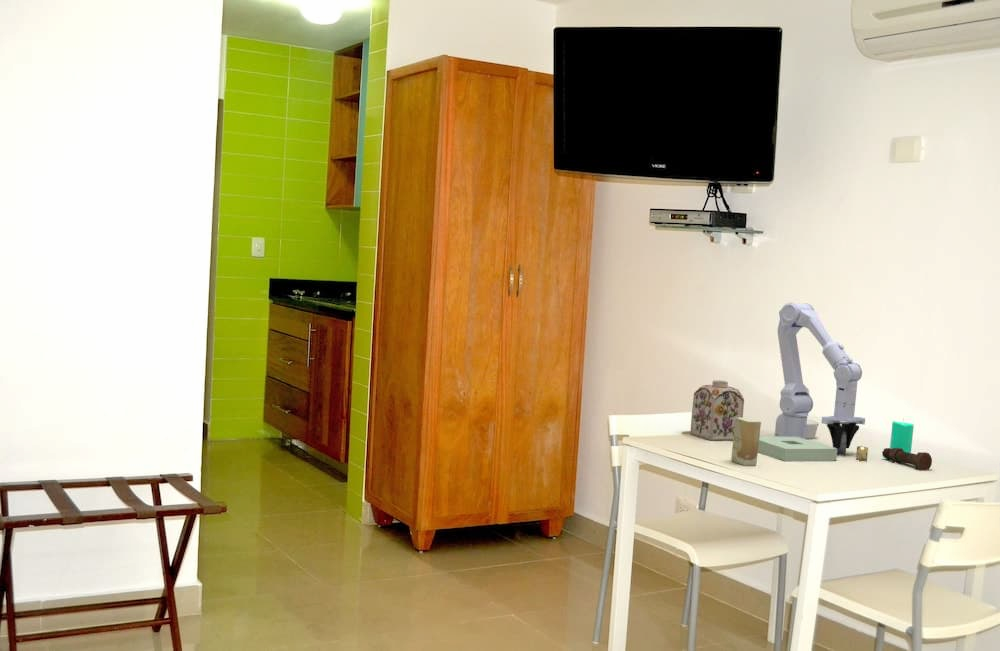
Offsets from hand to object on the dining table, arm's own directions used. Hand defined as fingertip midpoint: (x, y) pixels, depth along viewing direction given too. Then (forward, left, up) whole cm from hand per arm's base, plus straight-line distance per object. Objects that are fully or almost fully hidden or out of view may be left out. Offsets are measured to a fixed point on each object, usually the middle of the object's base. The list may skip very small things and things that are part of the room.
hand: (840, 447), depth 287 cm
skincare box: (+11, -42, -2) cm, 43 cm away
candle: (+5, +18, -2) cm, 19 cm away
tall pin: (0, 0, -2) cm, 2 cm away
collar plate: (0, -18, -2) cm, 18 cm away
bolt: (+14, +11, -2) cm, 18 cm away
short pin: (+9, 0, -2) cm, 9 cm away
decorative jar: (-26, -27, -2) cm, 38 cm away
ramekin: (-28, +7, -2) cm, 29 cm away
